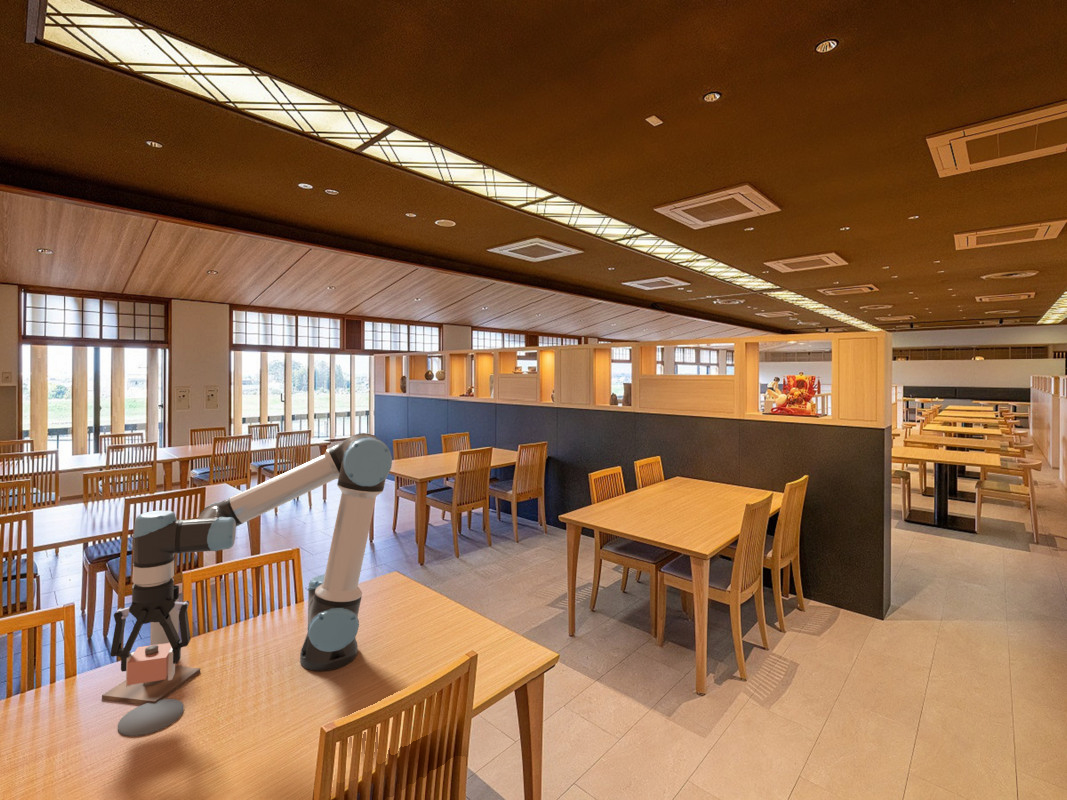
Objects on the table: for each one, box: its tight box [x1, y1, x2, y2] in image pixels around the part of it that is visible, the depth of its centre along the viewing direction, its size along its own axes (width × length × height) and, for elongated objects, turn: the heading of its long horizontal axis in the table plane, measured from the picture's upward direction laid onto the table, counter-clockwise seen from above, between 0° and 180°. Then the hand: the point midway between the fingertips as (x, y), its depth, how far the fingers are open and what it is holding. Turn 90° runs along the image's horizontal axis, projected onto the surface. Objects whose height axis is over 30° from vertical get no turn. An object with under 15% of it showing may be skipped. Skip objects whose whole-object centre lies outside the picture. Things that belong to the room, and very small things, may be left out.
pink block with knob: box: [127, 643, 171, 685], centre depth 114 cm, size 7×7×6 cm
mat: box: [117, 698, 185, 737], centre depth 115 cm, size 12×12×1 cm
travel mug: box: [149, 584, 180, 646], centre depth 138 cm, size 6×7×20 cm
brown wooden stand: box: [101, 665, 201, 705], centre depth 127 cm, size 14×14×7 cm
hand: (151, 680), depth 115 cm, fingers closed on pink block with knob, 7 cm apart
